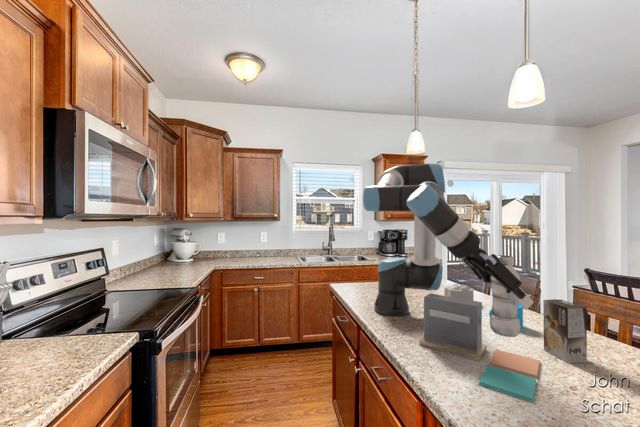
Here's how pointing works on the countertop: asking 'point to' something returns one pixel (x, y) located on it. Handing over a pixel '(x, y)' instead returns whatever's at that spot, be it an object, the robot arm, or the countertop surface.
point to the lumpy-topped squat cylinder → (459, 291)
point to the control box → (453, 326)
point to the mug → (520, 314)
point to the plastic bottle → (504, 304)
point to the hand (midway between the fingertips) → (518, 301)
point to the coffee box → (565, 330)
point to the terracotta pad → (515, 363)
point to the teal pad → (509, 382)
